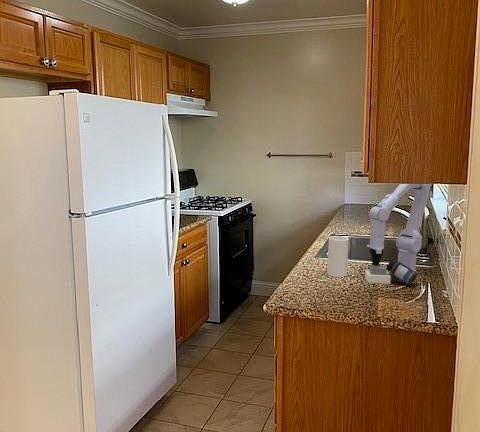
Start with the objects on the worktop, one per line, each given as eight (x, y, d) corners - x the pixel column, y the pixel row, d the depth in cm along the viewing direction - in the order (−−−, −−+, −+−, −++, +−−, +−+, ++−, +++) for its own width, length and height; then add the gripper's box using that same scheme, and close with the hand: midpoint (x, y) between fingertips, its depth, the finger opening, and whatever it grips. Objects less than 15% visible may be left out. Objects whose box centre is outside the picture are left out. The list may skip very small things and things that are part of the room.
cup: (334, 271, 208) (336, 235, 206) (350, 274, 202) (352, 238, 200) (323, 274, 202) (325, 237, 200) (339, 278, 197) (341, 240, 194)
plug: (390, 277, 199) (391, 263, 198) (399, 278, 199) (400, 264, 198) (392, 280, 196) (393, 266, 195) (401, 280, 195) (402, 266, 194)
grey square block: (369, 270, 198) (369, 264, 198) (383, 271, 197) (384, 265, 197) (371, 274, 192) (371, 268, 192) (386, 275, 192) (386, 269, 191)
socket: (364, 276, 200) (365, 269, 200) (386, 277, 199) (387, 270, 199) (367, 282, 192) (367, 275, 191) (390, 283, 190) (390, 276, 190)
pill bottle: (414, 282, 191) (390, 267, 197) (420, 270, 188) (395, 256, 194) (407, 287, 187) (383, 272, 193) (413, 275, 184) (388, 260, 190)
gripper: (365, 231, 207) (363, 262, 209) (369, 238, 193) (367, 270, 195) (382, 232, 206) (380, 262, 208) (387, 238, 192) (385, 271, 194)
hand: (375, 266), depth 201 cm, fingers closed
